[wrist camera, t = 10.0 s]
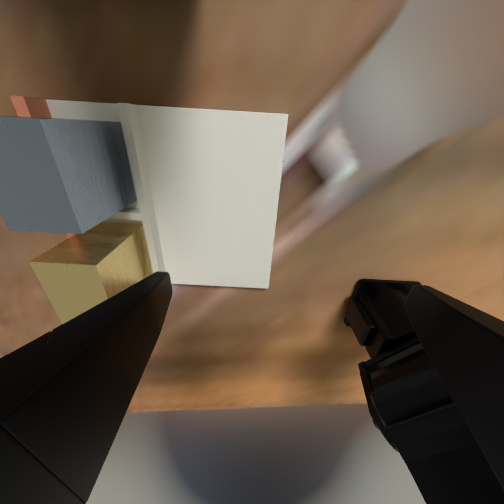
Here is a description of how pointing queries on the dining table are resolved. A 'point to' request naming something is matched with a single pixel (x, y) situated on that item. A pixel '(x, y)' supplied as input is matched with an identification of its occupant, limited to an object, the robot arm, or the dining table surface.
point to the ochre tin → (93, 267)
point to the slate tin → (62, 173)
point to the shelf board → (195, 185)
